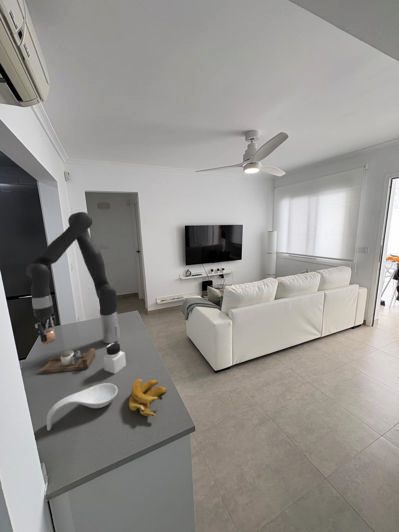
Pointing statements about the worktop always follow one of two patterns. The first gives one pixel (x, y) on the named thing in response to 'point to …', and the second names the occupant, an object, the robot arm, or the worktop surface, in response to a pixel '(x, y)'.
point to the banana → (145, 396)
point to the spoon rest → (86, 399)
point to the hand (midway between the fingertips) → (48, 338)
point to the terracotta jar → (49, 335)
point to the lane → (56, 366)
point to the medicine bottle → (114, 358)
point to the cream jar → (67, 358)
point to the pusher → (76, 358)
